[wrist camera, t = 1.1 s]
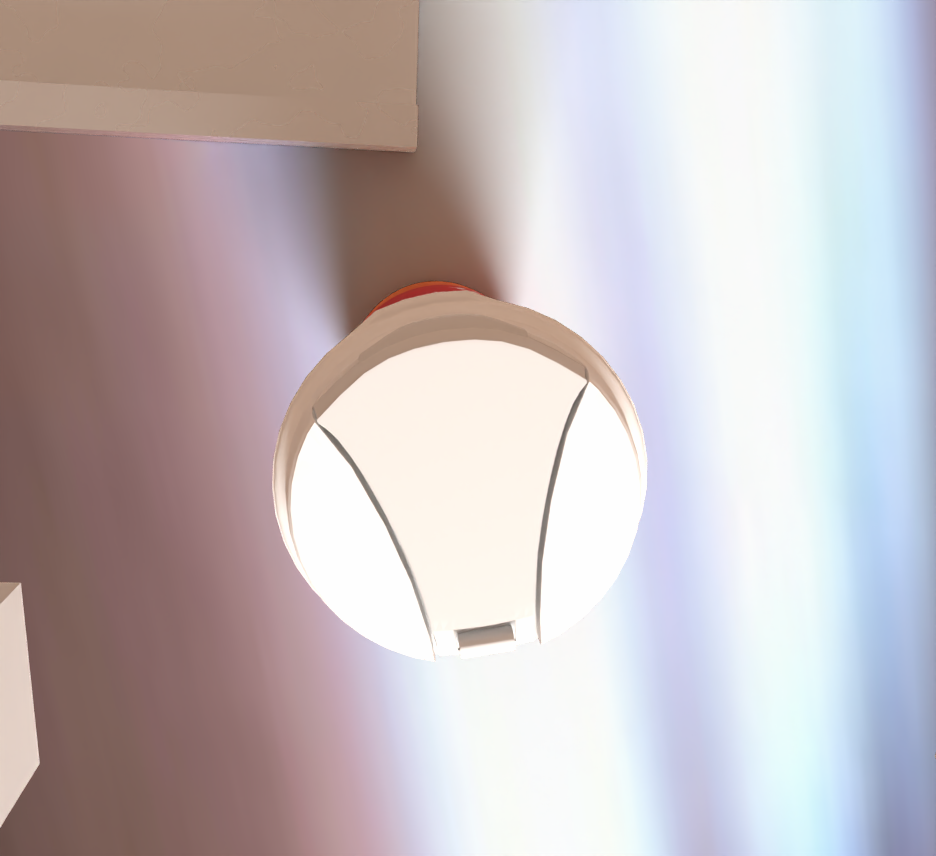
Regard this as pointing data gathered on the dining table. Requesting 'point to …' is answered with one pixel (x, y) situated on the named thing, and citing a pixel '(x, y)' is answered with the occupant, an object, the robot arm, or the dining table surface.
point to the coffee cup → (459, 475)
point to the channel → (214, 70)
